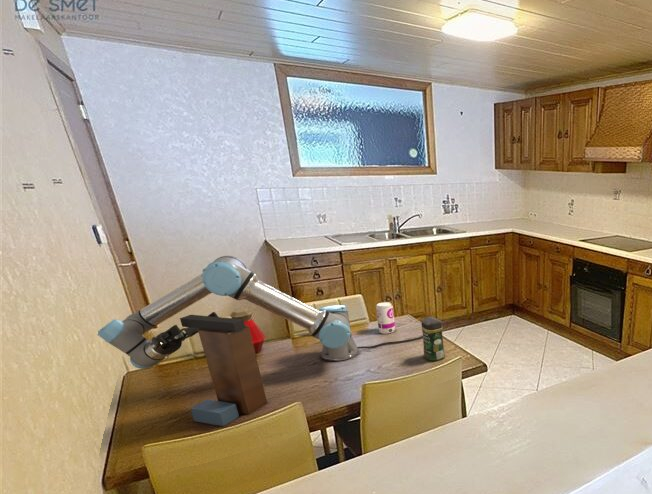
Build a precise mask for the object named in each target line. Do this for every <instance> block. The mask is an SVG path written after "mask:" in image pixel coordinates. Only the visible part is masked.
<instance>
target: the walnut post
mask: <svg viewBox="0 0 652 494" xmlns="http://www.w3.org/2000/svg"><path fill="white" fill-rule="evenodd" d="M198 336H199V339H200V342H201V346H202V350H203V353H204V356H205V360H206V363H207V367H208V370H209V375H210V378H211V381H212V385H213V388H214V392H215V395H216V399H217V401H220V402H226V403H233V404H236V407H237V410H238V414H245V415H250V414H251V413H253V412H255V411H257V410H258V409H259V408H261V407H263V406H265V405H266V404H267V403H268V402H267V397H266V392H265V388H264V384H263V379H262V376H261V372H260V368H259V363H258V359H257V355H256V354H257V353H255V350H254V346H253V341H252V337H251V333H250V329H249V326H248V325H245V328H244V329H241V330H239V331H237V332H232V331H221V330H211V329H201V330H198Z"/></svg>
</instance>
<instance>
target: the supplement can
mask: <svg viewBox="0 0 652 494" xmlns="http://www.w3.org/2000/svg"><path fill="white" fill-rule="evenodd" d="M375 310H376V311H375V312H376V319H377V326H378V328H377V329H378V332H379V333H380V334H383V335H388V334H393V333H394V332H395V331H396V324H395V323H396V322H395V314H394V306H393V304H392V302H389V301H383V302H382V301H381V302H379V303H377V304H376V306H375Z"/></svg>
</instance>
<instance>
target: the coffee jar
mask: <svg viewBox="0 0 652 494" xmlns="http://www.w3.org/2000/svg"><path fill="white" fill-rule="evenodd" d="M421 332H422V336H423V338H422V342H423V355H424V357H425V358H426V359H427V360H428V361H431V362H432V361H441V360H442V359H444V358H445V348H444V336H443V321H442V320H440V319H439V318H436V317H433V316H427V317H423V318H422V320H421Z"/></svg>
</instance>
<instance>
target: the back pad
mask: <svg viewBox="0 0 652 494" xmlns="http://www.w3.org/2000/svg"><path fill="white" fill-rule="evenodd" d="M179 321H180V325H181V327H182V328H188V327H191V328H201V329H211V330H221V331H232V332H237V331H239V330H241V329H244V328H245V323H244V320H243V319H233V318H231V317H220V316H218V317H211V316H208V315H200V314H188V315H186V316H183V317H180V318H179Z"/></svg>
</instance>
